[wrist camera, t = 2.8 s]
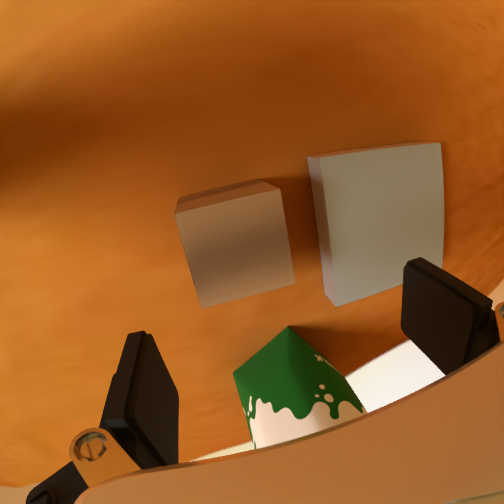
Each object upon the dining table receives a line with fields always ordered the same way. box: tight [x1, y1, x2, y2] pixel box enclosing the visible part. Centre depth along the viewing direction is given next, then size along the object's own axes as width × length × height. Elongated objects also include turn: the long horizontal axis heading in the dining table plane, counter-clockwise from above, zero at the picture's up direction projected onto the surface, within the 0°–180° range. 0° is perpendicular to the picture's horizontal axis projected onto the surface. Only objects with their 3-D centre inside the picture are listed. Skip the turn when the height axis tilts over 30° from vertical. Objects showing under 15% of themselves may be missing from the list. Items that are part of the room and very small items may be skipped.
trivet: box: [307, 142, 444, 307], centre depth 24 cm, size 12×12×2 cm
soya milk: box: [233, 326, 367, 449], centre depth 20 cm, size 9×9×20 cm
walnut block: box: [175, 179, 296, 308], centre depth 21 cm, size 6×6×6 cm
